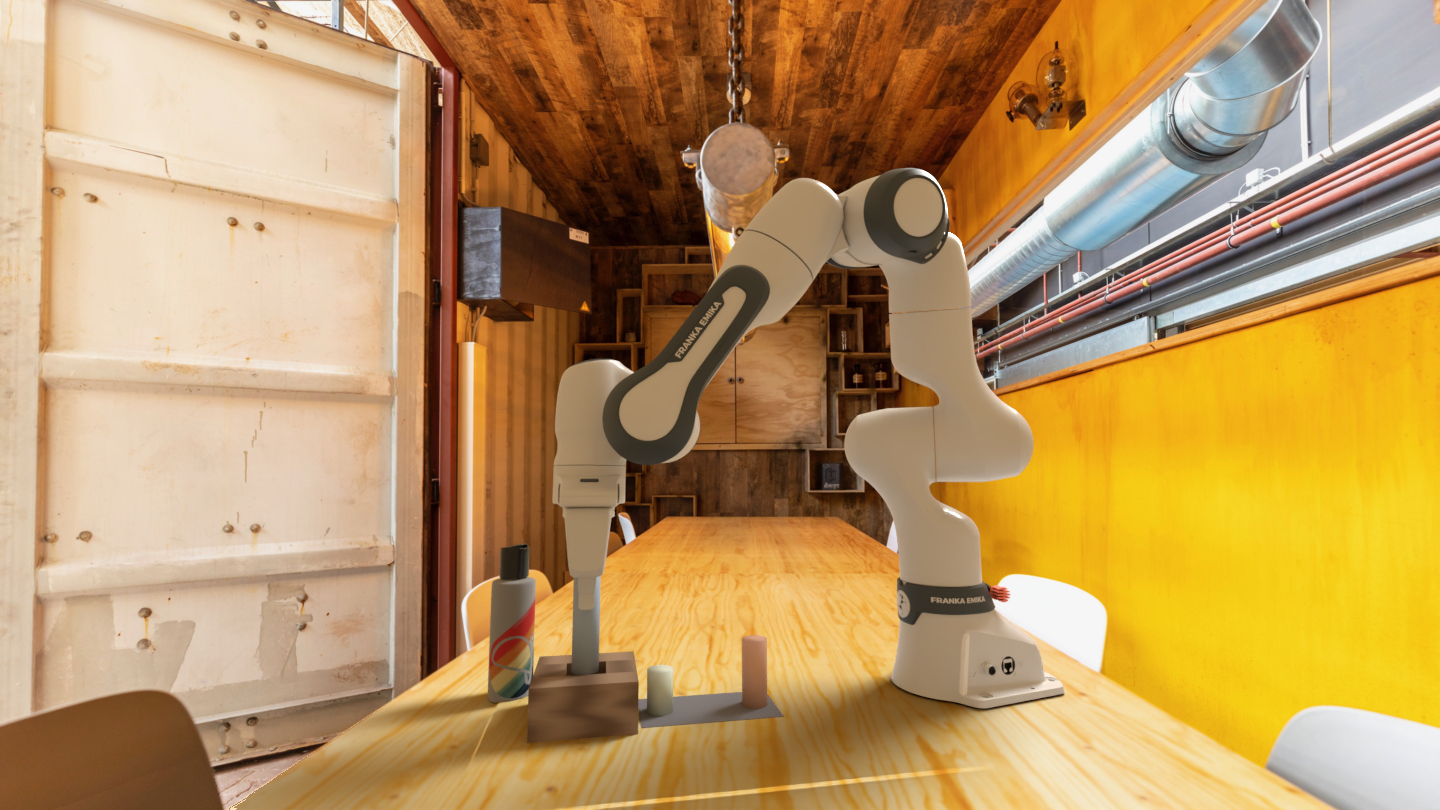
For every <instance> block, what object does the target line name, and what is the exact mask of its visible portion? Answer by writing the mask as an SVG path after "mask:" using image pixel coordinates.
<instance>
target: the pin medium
mask: <svg viewBox="0 0 1440 810" xmlns="http://www.w3.org/2000/svg"><path fill="white" fill-rule="evenodd" d="M767 646H768V639H767V637H766V636H764V635H759V634H758V635H756V634H753V635H752V634H751V635H745V636H742V637H741V692H742V705H743V706H744V707H746V708H751V709H760V708H764V707H766V706H767V694H768V647H767Z"/></svg>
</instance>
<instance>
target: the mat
mask: <svg viewBox="0 0 1440 810" xmlns="http://www.w3.org/2000/svg"><path fill="white" fill-rule="evenodd" d="M638 714H639V719H640V725H641V729H648V728H662V727H672V726H685V725H686V726H687V725H696V724H697V725H698V724H699V725H700V724H709V723H724V722H734V721H735V722H736V721H748V720H761V719H774V718H775V719H776V718H784V717H785V715H784V713H782V711H781V710H780V709H779V708H778V706H777V704H776V703H775V702H774V701H773V699H772V698H771V697H770V695H769V693H767V706H766V707H764V708H760V709H751V708H746V707H744V706H743V705H742V691H735V692H724V693H723V692H722V693H719V692H718V693H709V694H708V693H706V694H694V695H679V696H673V712H672V713H671V714H669V715H666V716H652V715H649V714H648V713H647V698H638Z"/></svg>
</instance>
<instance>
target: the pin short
mask: <svg viewBox="0 0 1440 810" xmlns="http://www.w3.org/2000/svg"><path fill="white" fill-rule="evenodd" d="M646 669H647V670H646V671H647V672H646V675H647V676H646V699H647V713H648V714H649V715H652V716H666V715H669V714H671V713H672V712H673V697H674V667H673V666H671V665H669V664H656V665H655V664H654V665H651V666H648V667H647V668H646Z"/></svg>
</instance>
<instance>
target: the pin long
mask: <svg viewBox="0 0 1440 810" xmlns="http://www.w3.org/2000/svg"><path fill="white" fill-rule="evenodd" d="M601 577H602V576H600V577H596V585H595V594H594V607H593V609H591V610H581V609H579V607H578V602H579V592H578V577H573V590H572V591H573V592H572V593H573V595H572V596H573V597H572V598H573V599H572V628H571V629H572V631H571V632H572V633H571V634H572V635H571V637H572V640H571V655H572V669H571V672H572V673H573V674H576V675H589V674H593V673H596V672H598V671H599V653H600V625H601V624H600V620H601V617H600V616H601Z"/></svg>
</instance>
